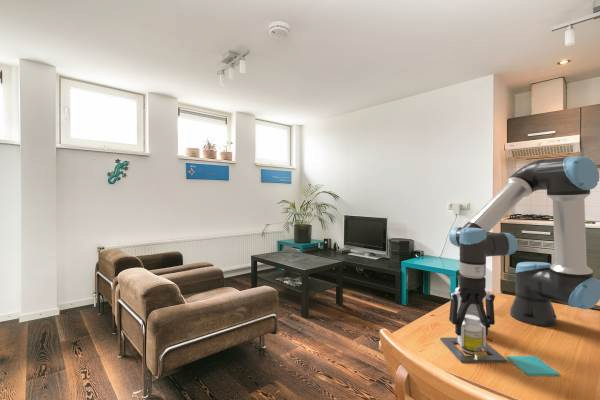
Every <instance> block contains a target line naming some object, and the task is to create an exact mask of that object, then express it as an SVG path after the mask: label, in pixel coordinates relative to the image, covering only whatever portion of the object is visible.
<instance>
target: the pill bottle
mask: <svg viewBox="0 0 600 400" xmlns="http://www.w3.org/2000/svg"><path fill="white" fill-rule="evenodd" d="M462 325H463V326H464V347H462V346H461V345H460V348H461V349H460V350H461V351H463V352H464V353H466V354H469V355H475V352H483V348H482V333H483V329H482V326H481V325H480V318H479V317H477V316H474V315H465V318H464V322H463V323H462Z"/></svg>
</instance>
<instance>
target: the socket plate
mask: <svg viewBox="0 0 600 400" xmlns="http://www.w3.org/2000/svg"><path fill="white" fill-rule="evenodd" d="M439 341H441V343H442V344H444V346H446V348H447V349H448V350H449V351H450V352H451V354H452V355H454V356H455V358H456V359H457V360H458V362H460V363H508V359H507V358H506V357H504V356H503V355H502V354H501V353H499V352H498V351H497V350H496V349H494V348H493V347H492V345H489V343H488V342H486V347H483V346H482V350H484V351H482V352H475V355H473V354H469V355H468V354H464V353H463V352H462V350H461V349H460V348H459V347H457V346H456V344H459V343H458V336H457V337H440V340H439Z"/></svg>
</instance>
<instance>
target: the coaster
mask: <svg viewBox="0 0 600 400" xmlns="http://www.w3.org/2000/svg"><path fill="white" fill-rule="evenodd" d="M505 359H507V361H509V362H511V363H512V364H513V365H514V366H515V367H517V368H518V370H520V371H521V372H523V373H525V375H526V376H529V377H530V376H531V377H532V376H534V377H535V376H537V377H538V376H539V377H541V376H543V377H544V376H547V377H549V376H550V377H551V376H552V377H553V376H555V375H557V376H558V375H560V372H558V370H556V369H554V368H553V367H551V366H550V365H548V363H546V362H544V361H543V360H541V359H540V358H539V357H537V356H536V355H506V357H505ZM560 376H561V375H560Z"/></svg>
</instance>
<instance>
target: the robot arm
mask: <svg viewBox="0 0 600 400" xmlns="http://www.w3.org/2000/svg"><path fill="white" fill-rule="evenodd" d="M599 181H600V171H599V169H598V166H597V164H596V163H595V162H594V161H593V160H592V159H591V158H589V157H587V156H582V155H580V156H567V157H565V156H563V157H555V158H554V157H553V158H546V159H537V160H534V161H532V162H530V163H527V164H525V165H524V166H522V167H520V168H519V169H518V170H516V171H515V172H514V173H513V174H511V176H509V178H507V179H506V181H505V185H504V186H503V187H502V188H501V189H500V190H499V191H498V192H496V194H495V195H494V196H493V197H492V198H490V200H489V201H488V202H487V203H486V204H485V205H483V207H481V209H480V210H479V211H478V212H476V214H475V215H474V216H472V217H471V219H469V221H467V222H466V223H465V224H464V226H459V227H457V226H455V227H454V228H452V229H451V230H450V232H449V236H448V237H449V238H448V239H449V241H450V243H451V244H452V245H453V246H455V247H458V248H459V270H458V271H459V281H458V285H459V287H460V288H459V290H458V292H456V293H455V292H452V291H451V292H449V297H450V306H449V307H450V309H449V318H448V320H449V322H450V323H451V324H452V325H454V326H455V327H454V328H455V329H454V333H455V334H456V335H457V337H458V343H457V344H458V345H460V347H461V346H462V347H464V326H463V325H462V323H463V320H464V318H465V315H466V312H467V309H468V308H469V306H470V304H475V305H476V308H477V311H478V314H479V317H480V320H481V323H482V324H480V325H481V326H482V329H483V333H482V346H483V347H486V343H487V342H486V340H487V339H486V337H487V336H488V335H489V329H490V328H491V326H493V325H495V324H496V323H495V322H496V321H495V307H494V306H495V305H494V301H495V298H496V295H495V294H493V293H492V292H489V291H488V292H486V286H487V285H486V283H487V282H486V281H487V279H486V273H487V267H486V266H487V257H499V256H501V257H502V256H503V257H504V256H510V255H513V254H515V253H516V252H517V250H518V247H519V245H518V240H517V238H516V237H515V235H513V234H511V233H509V232H493V231H492V232H491V230H493V228H495V226H497V224H499V223H500V221H501V220H502V219H504V217H505V216H506V215H507V214H508V213H510V212H511V210H512V209H514V207H515V206H517V204H519V202H520V201H521V200H523V199H524V198H526V197H529V196H530V195H532V194H533V192H536V191H540V190H541V191H542V190H543V191H545V190H546V195H547V197H548V198H550V199H551V200H552V217H553V220H552V221H553V222H552V223H553V240H554V241H553V244H554V246H553V249H554V263H553V264H552V263H550V262H544V261H542V262H541V261H522V262H518V263H517V264H516V267H515V273H514V274H515V297H514V299H513V302H512V304H511V306H510V308H509V309H510V310H509V314H510V316H511V317H512V318H514V319H515V320H517V321H519V322H523V323H527V324H531V325H535V326H542V327H551V326H552V327H553V326H556V325H557V322H558V321H557V320H558V319H557V314H556V312H555V310H554V309H555V308H554V306H553V304H552V301H555V302H558V303H560V304H564V305H567V306H569V307H572V308H577V309H580V310H590V309H592V308H594V307H595V306H596V305H597V304H598V303H599V302H600V280H599V279H598V278H596V277H594V272H593V271H594V270H592V268H590V267H589V266H588V265H587V264H588V263H587V261H588V260H587V238H586V237H587V236H586V235H587V233H586V209H585V208H586V206H585V202H586V201H585V199H586V198H588V197H589V196H590V195H591V190H593V189H595V188H596V187H597V186H598V185H599V184H598V183H599ZM459 296H460V297H461V298H462V299H461V302H460V303H461V304H460V307H459V310H458V300H459ZM482 300H485V301H484V303H485V307H484V305H483V302H482ZM465 302H466V303H465ZM457 311H458V313H457Z"/></svg>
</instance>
